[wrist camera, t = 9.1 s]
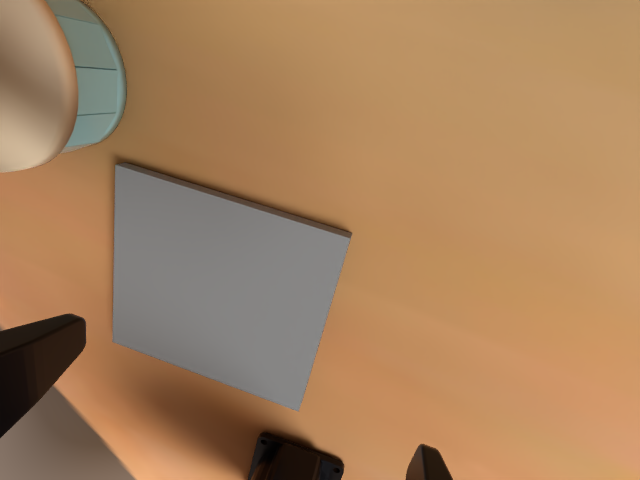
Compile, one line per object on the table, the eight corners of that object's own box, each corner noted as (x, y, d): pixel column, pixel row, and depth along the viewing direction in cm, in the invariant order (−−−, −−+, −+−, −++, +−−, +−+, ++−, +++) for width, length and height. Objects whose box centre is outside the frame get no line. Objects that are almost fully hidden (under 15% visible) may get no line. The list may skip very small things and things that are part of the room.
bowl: (125, 163, 22) (70, 177, 19) (8, 126, 23) (-67, 133, 20) (130, 7, 19) (63, -12, 15) (-7, -28, 20) (-100, -55, 16)
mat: (301, 402, 26) (298, 411, 25) (120, 335, 28) (112, 341, 27) (352, 233, 21) (349, 238, 20) (125, 162, 22) (115, 164, 22)
